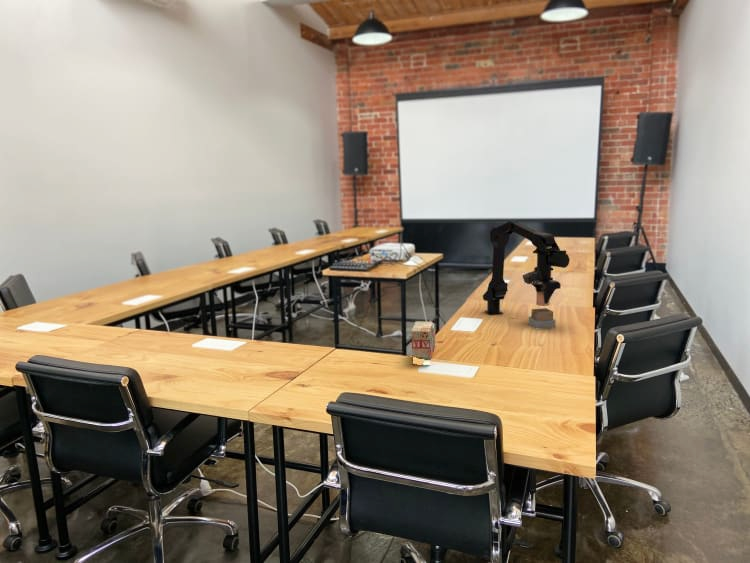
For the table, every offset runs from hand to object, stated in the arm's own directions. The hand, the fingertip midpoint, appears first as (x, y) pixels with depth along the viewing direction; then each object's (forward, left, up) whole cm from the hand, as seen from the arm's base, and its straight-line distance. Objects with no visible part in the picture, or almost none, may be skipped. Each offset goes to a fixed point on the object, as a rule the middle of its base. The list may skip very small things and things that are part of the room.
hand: (543, 302), depth 225 cm
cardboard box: (+28, -57, -10) cm, 64 cm away
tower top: (0, 0, -7) cm, 7 cm away
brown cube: (0, 0, -1) cm, 1 cm away
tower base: (0, 0, -10) cm, 11 cm away
